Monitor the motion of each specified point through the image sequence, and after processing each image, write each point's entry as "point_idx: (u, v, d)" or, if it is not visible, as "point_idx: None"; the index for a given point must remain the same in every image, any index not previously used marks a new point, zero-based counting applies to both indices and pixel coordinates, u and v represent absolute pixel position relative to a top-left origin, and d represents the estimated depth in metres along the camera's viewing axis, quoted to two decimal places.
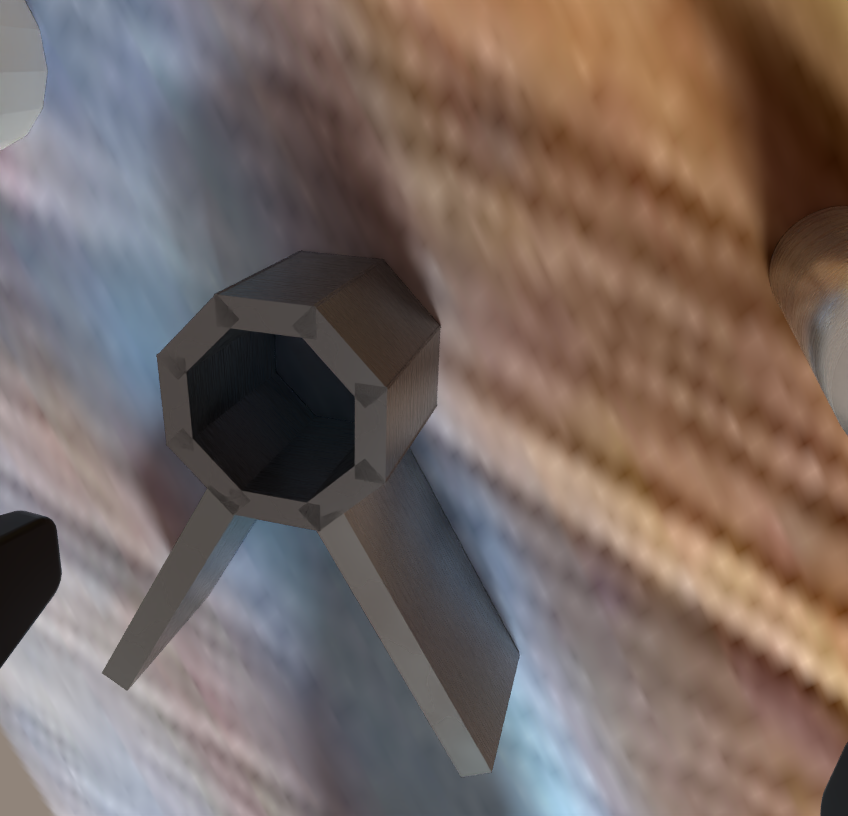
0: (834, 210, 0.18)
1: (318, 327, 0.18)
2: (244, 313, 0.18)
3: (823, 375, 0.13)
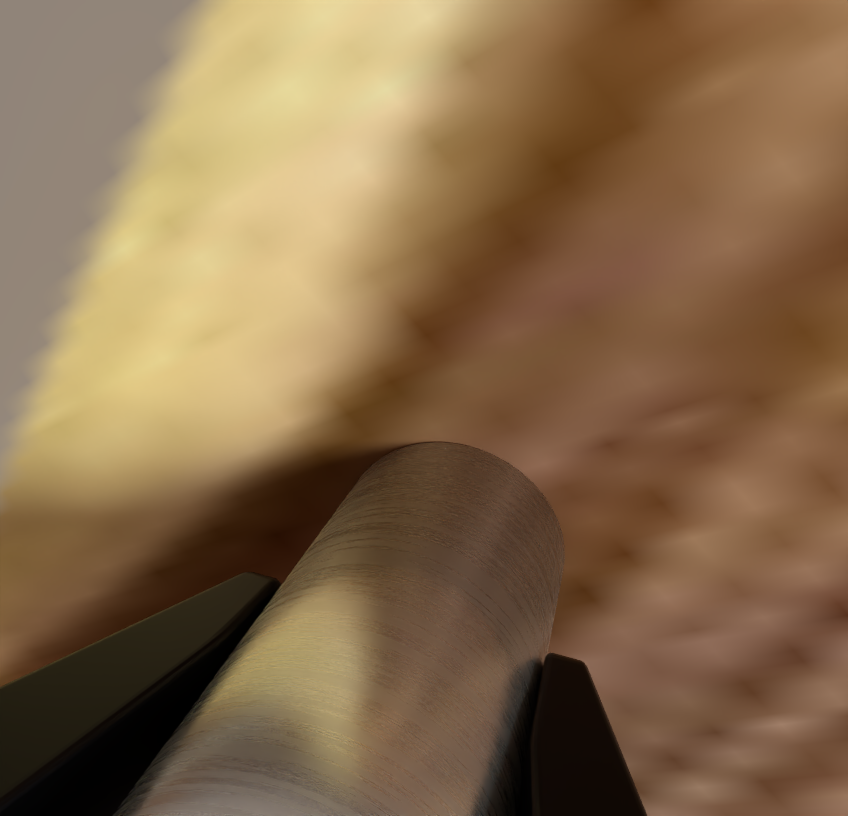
0: None
1: None
2: None
3: None
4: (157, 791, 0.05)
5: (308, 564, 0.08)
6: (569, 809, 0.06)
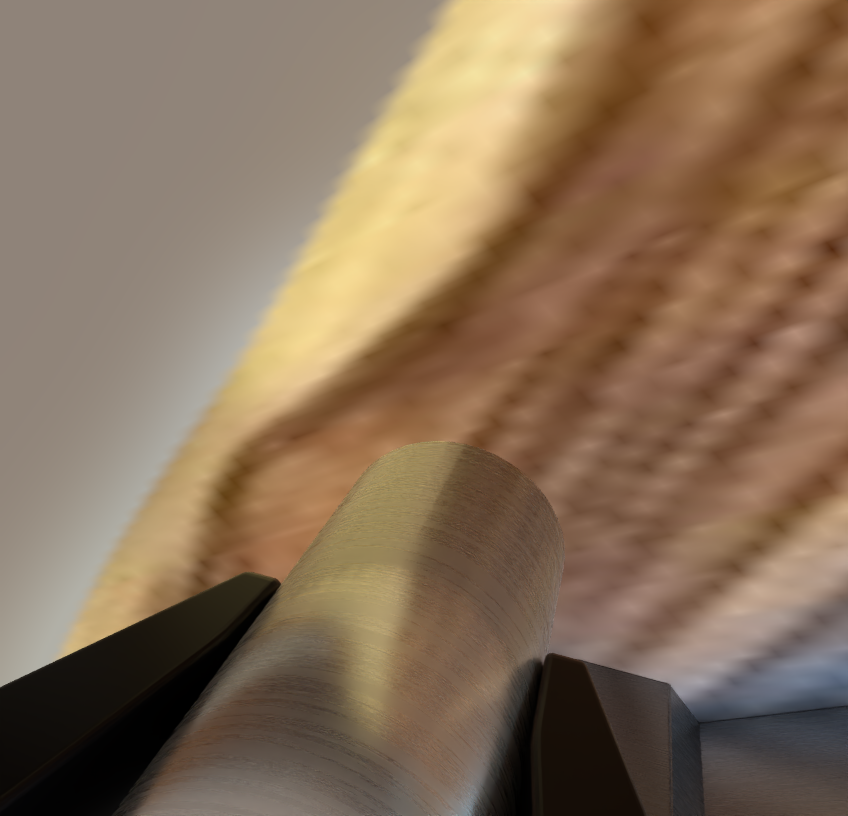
0: None
1: None
2: None
3: None
4: (157, 789, 0.05)
5: (308, 563, 0.08)
6: (569, 809, 0.06)
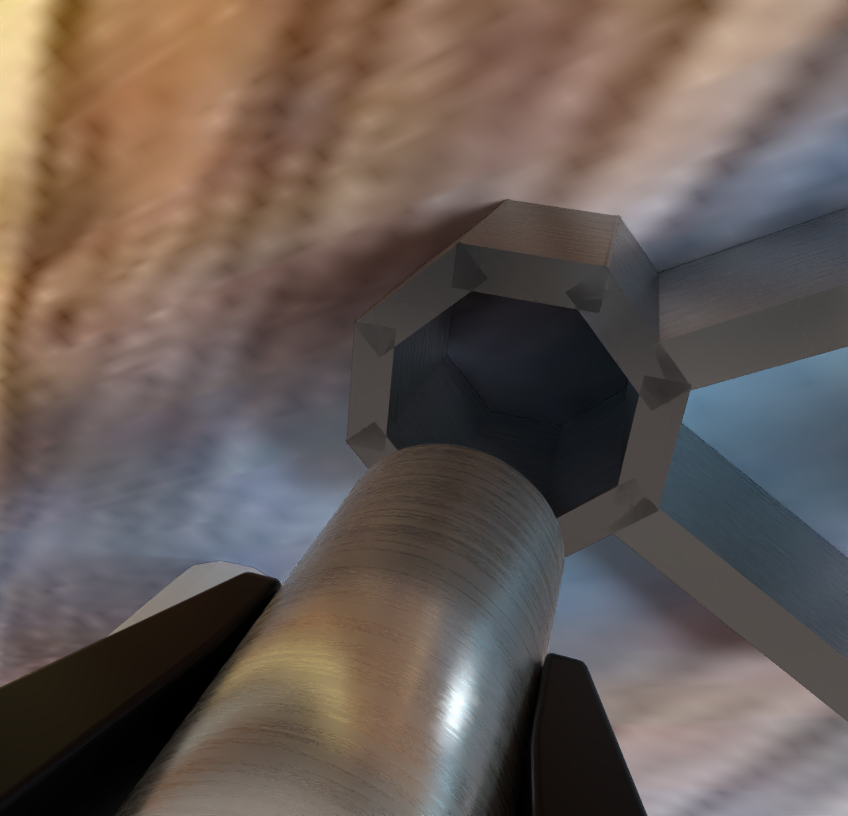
0: None
1: (380, 322, 0.14)
2: (367, 413, 0.15)
3: None
4: (156, 794, 0.05)
5: (308, 566, 0.08)
6: (569, 809, 0.06)
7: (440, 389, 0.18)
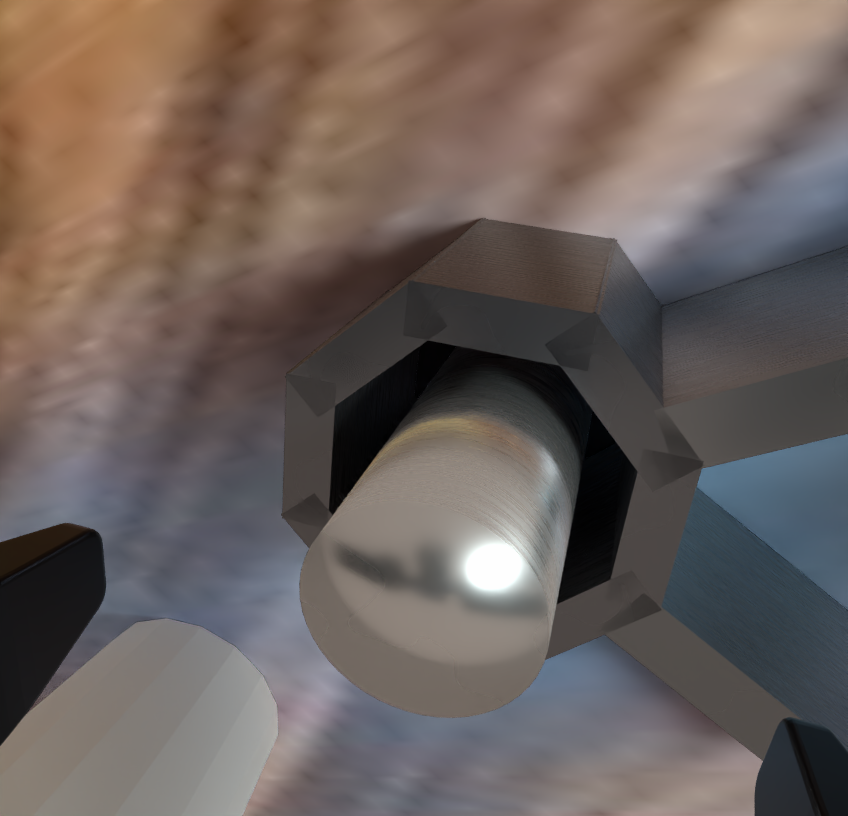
0: None
1: (317, 376, 0.12)
2: (305, 483, 0.12)
3: None
4: (417, 417, 0.11)
5: (455, 356, 0.14)
6: None
7: None
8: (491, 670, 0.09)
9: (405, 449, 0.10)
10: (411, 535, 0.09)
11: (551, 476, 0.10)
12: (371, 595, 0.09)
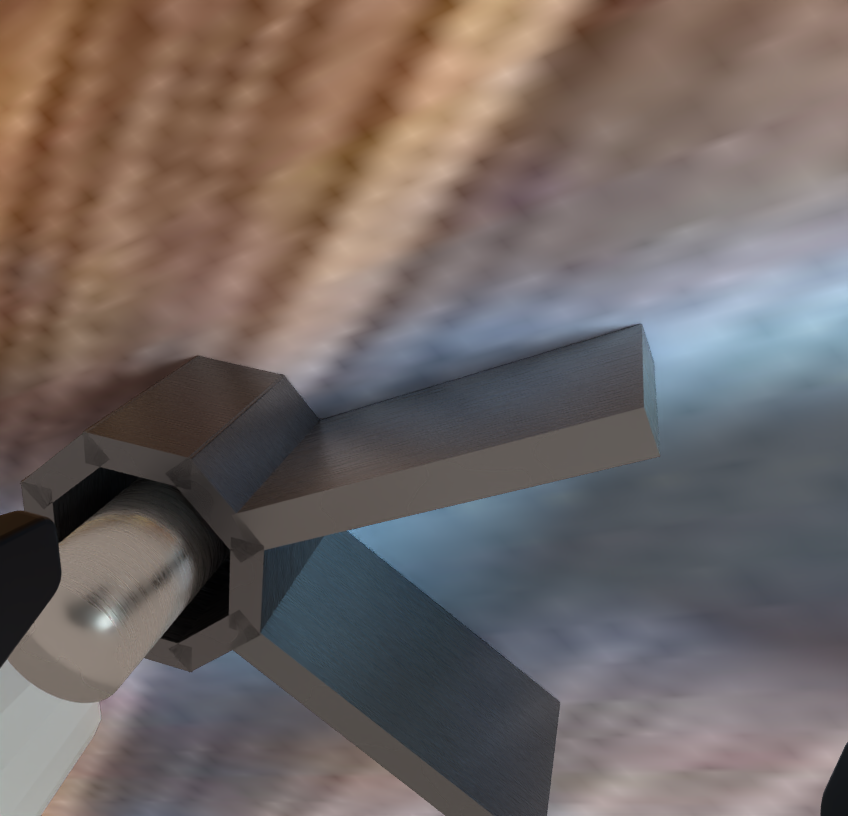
0: None
1: (39, 484, 0.18)
2: None
3: None
4: (95, 514, 0.17)
5: None
6: None
7: None
8: (99, 675, 0.15)
9: (66, 541, 0.16)
10: None
11: (165, 555, 0.17)
12: (30, 631, 0.15)
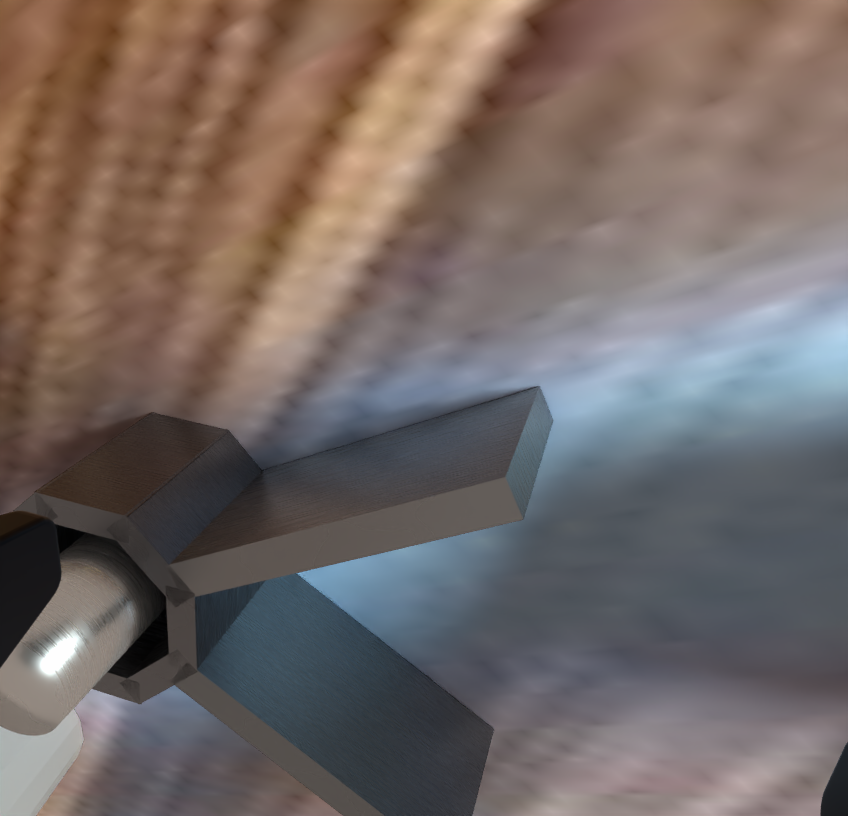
0: None
1: None
2: None
3: None
4: None
5: None
6: None
7: None
8: (42, 712, 0.17)
9: None
10: None
11: (106, 603, 0.19)
12: None
